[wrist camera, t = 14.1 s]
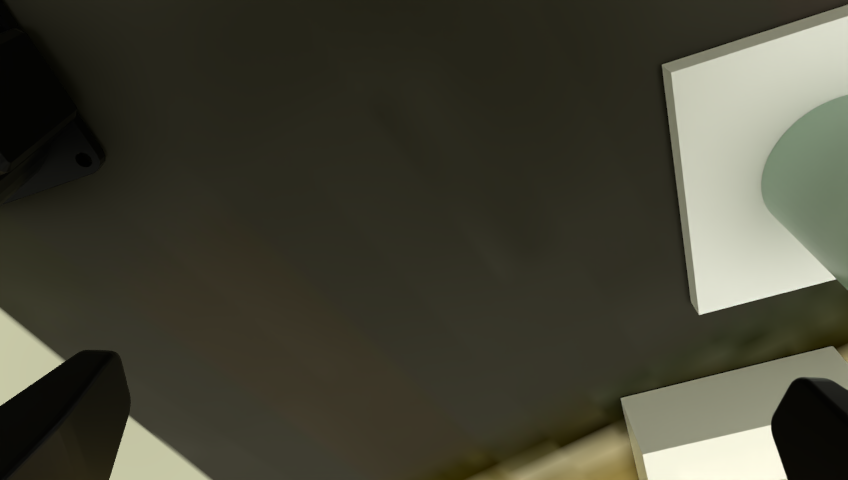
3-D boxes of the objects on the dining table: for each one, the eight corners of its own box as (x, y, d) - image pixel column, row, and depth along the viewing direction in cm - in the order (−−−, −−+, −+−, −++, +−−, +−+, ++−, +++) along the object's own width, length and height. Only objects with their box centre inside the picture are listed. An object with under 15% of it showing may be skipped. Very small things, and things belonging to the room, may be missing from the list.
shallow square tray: (646, 512, 32) (667, 569, 29) (620, 398, 27) (642, 454, 25) (827, 473, 31) (865, 529, 28) (832, 345, 26) (879, 399, 23)
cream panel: (690, 302, 24) (699, 314, 24) (661, 64, 19) (671, 72, 18) (962, 230, 23) (979, 241, 22) (1010, -49, 18) (1035, -44, 17)
